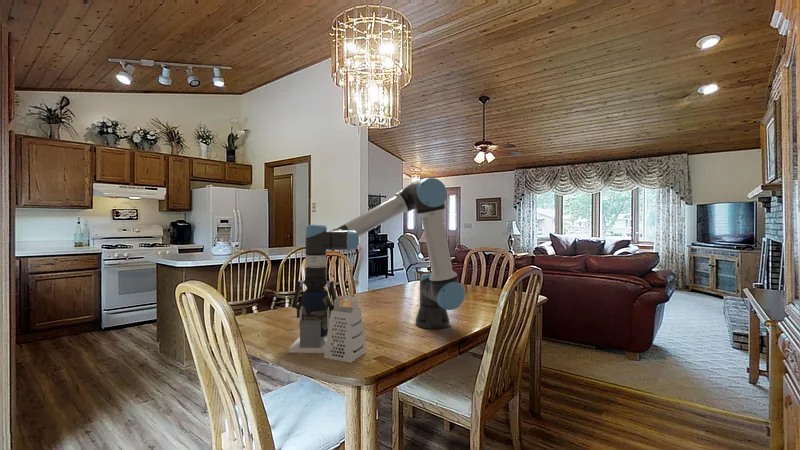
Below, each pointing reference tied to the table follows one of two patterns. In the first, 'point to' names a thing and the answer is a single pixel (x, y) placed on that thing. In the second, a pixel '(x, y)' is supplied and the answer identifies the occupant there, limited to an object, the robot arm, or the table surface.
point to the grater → (345, 332)
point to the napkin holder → (309, 338)
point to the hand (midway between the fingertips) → (315, 326)
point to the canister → (315, 308)
